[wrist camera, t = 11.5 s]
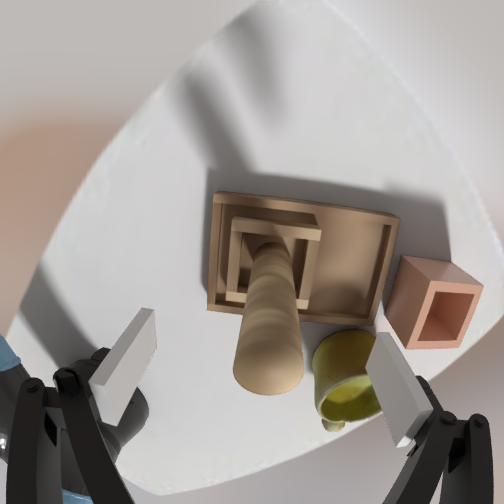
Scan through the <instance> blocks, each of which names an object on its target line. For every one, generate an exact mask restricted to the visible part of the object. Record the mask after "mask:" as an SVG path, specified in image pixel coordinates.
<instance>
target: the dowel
mask: <svg viewBox="0 0 504 504" xmlns="http://www.w3.org/2000/svg"><path fill="white" fill-rule="evenodd" d="M233 374H234V377H235V379H236V381H237V382H238V383H239V384H240V385H241V386H242V387H243V388H244V389H246V390H248V391H250V392H252V393H255V394H259V395H268V396H269V395H279V394H283V393H286V392H288V391H290V390H292V389H293V388H295V387H296V386H297V385H298V384H299V383H300V381H301V380H302V378H303V375H304V362H303V353H302V344H301V335H300V327H299V318H298V310H297V302H296V295H295V287H294V279H293V272H292V265H291V258H290V254H289V251H288V250H287V248H286V247H284V246H283V245H282V244H280V243H276V242H268V243H265V244H263V245H261V246H260V247H259V248H258V249H257V250H256V252H255V255H254V260H253V265H252V270H251V275H250V281H249V286H248V291H247V297H246V302H245V307H244V312H243V318H242V323H241V328H240V334H239V339H238V344H237V349H236V355H235V360H234V365H233Z"/></svg>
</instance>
